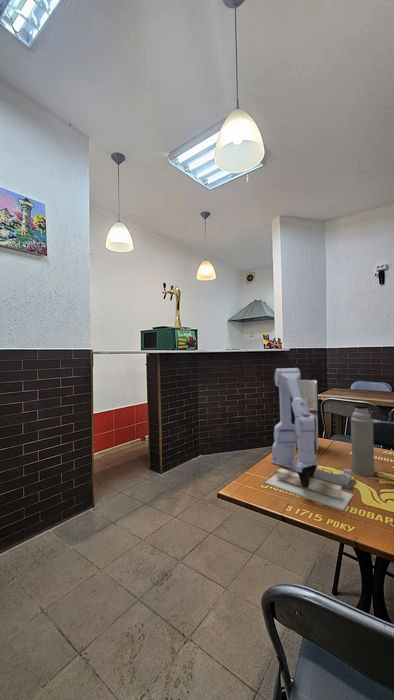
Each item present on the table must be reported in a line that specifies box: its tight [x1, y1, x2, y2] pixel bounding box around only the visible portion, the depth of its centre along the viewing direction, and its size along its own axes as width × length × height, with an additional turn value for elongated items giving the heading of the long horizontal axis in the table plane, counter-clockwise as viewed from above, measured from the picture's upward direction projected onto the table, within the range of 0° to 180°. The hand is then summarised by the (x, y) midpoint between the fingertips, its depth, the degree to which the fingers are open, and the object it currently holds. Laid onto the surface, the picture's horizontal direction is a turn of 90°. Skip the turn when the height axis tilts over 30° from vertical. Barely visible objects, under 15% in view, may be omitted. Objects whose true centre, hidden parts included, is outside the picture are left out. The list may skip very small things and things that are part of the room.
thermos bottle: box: [350, 404, 375, 477], centre depth 116 cm, size 8×8×28 cm
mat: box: [264, 474, 354, 512], centre depth 103 cm, size 28×12×1 cm, turn 47°
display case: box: [294, 379, 319, 455], centre depth 144 cm, size 11×11×35 cm
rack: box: [287, 456, 357, 490], centre depth 113 cm, size 24×8×4 cm, turn 47°
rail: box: [275, 467, 343, 498], centre depth 103 cm, size 23×3×3 cm, turn 47°
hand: (306, 484), depth 103 cm, fingers closed on rail, 3 cm apart
